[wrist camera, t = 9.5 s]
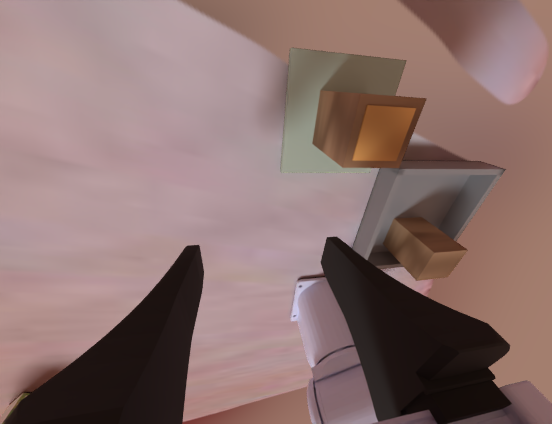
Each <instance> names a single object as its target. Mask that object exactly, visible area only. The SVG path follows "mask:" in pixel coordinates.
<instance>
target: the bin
mask: <svg viewBox="0 0 552 424" xmlns="http://www.w3.org/2000/svg"><path fill="white" fill-rule="evenodd" d="M504 171H505V169H503V168H500V167H497V166H494V165H491V164H487V163H484V162H481V161H408V160H402V162H401V164H400V167H399V168H380V169H379V172H378V175H377V178H376V181H375V184H374V187H373V190H372V192H371V195H370V198H369V201H368V204H367V207H366V210H365V213H364V216H363V218H362V221H361V224H360V227H359V230H358V233H357V236H356V239H355V241H354V244H353V247H352V249H353V250H354V251H356V252H357V253H358V254H360V255H361V256H362V257H364V258H365V259H366V260H367V261H369V262H370V263H372V264H373V265H374V266H376V267H377V268H379V269H385V268H395V267H404V266H403V265H402V264H401V263H400V262H399V261H398V260H397V259H396V258H395V257H394V256H393V255H392V253H391V252H390V251H389V250H388V249H387V248H386V247H385V246H384V245H383V242H384V240H385V237H386V235H387V233H388V231H389V228H390V226H391V224H392V222H393V219H395V218H416V217H422V218H424V219H425V220H427V221H428V222H429V223H431V224H432V225H434V226H435V227H436V228H438V229H439V230H441V231H442V232H443V233H445V234H446V235H448V236H449V237H450V238H452V239H453V240H455V241H457V239H458V238H459V237H460V235H461V234H462V232H463V231H464V229H465V228H466V226H467V225H468V223H469V222H470V220H471V219H472V218H473V216H474V215H475V213H476V212H477V210H478V209H479V207H480V206H481V205H482V203H483V202H484V200H485V198H486V197H487V196H488V194H489V193H490V191H491V190H492V189H493V187H494V186H495V184H496V183H497V181H498V180H499V178H500V177H501V175H502V174H503V172H504Z"/></svg>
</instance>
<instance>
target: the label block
mask: <svg viewBox="0 0 552 424" xmlns="http://www.w3.org/2000/svg"><path fill="white" fill-rule="evenodd" d="M425 101H426V99H425V98H413V97H401V96H388V95H375V94H363V93H349V92H336V91H323V90H320V96H319V103H318V109H317V116H316V122H315V129H314V135H313V142H312V144H313V145H314V146H316V147H317V148H318V149H319V150H321V151H322V152H323V153H324V154H326V155H327V156H328V157H330V158H331V159H332V160H333V161H335V162H336V163H337V164H338V165H340V166H341V167H342V168H399V167H400V164H401V162H402V159H403V157H404V154H405V152H406V149H407V147H408V144H409V142H410V139H411V137H412V134H413V132H414V129H415V126H416V124H417V121H418V119H419V116H420V114H421V111H422V109H423V106H424V104H425Z"/></svg>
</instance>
